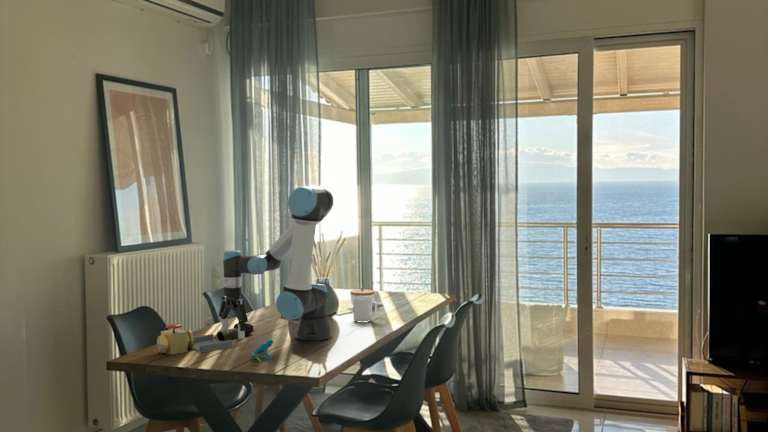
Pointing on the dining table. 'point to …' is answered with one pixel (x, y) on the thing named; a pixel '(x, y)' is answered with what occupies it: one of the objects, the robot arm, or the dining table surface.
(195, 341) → the blue-grey u-shaped block
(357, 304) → the mug
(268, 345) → the blue green toy
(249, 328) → the dark brown elongated piece
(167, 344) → the brass valve
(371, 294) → the lidded bowl
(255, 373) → the dining table surface
